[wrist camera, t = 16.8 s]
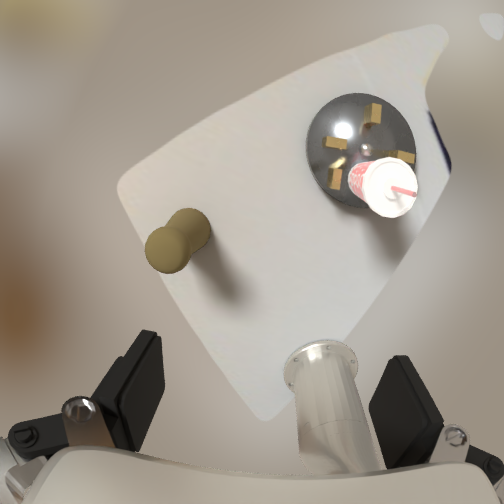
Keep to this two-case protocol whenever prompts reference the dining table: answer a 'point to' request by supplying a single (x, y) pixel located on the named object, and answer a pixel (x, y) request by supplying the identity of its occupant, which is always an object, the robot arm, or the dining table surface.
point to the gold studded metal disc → (355, 141)
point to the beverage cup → (384, 185)
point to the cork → (177, 240)
